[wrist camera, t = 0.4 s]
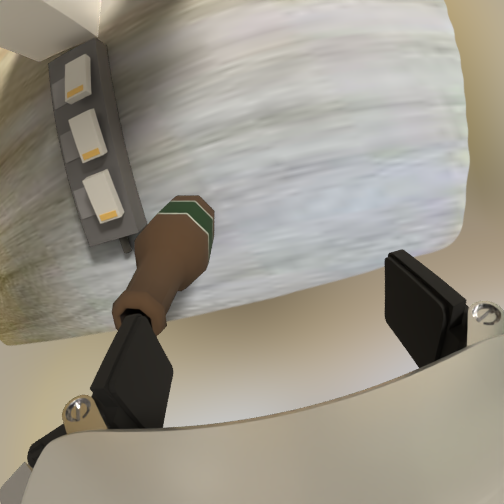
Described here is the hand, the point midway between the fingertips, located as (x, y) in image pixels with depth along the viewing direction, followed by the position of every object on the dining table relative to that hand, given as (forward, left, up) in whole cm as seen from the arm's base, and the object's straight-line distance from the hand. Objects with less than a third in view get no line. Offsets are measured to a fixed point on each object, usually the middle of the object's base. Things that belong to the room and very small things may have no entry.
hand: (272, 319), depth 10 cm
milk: (-36, -20, -29) cm, 51 cm away
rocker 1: (-21, -17, -24) cm, 36 cm away
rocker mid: (-13, -17, -24) cm, 32 cm away
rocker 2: (-5, -17, -24) cm, 30 cm away
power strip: (-11, -18, -29) cm, 36 cm away
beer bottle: (+2, -8, -29) cm, 31 cm away
